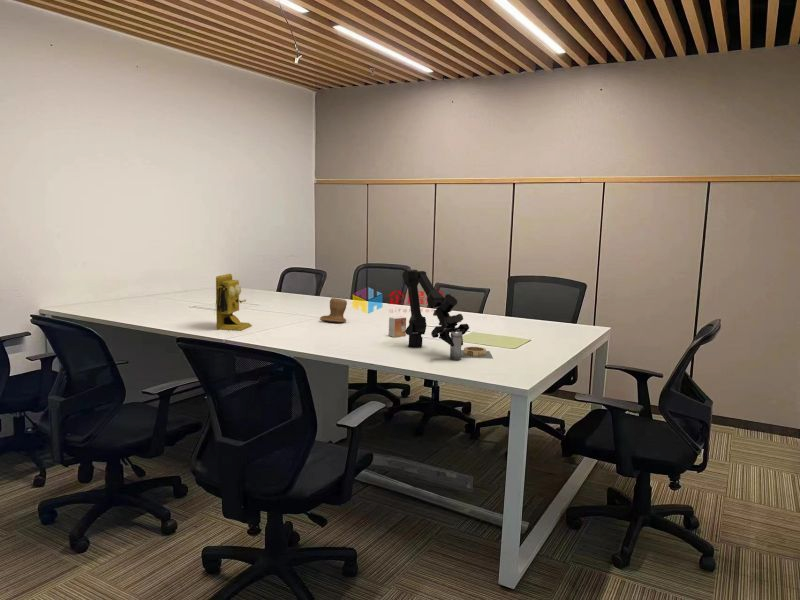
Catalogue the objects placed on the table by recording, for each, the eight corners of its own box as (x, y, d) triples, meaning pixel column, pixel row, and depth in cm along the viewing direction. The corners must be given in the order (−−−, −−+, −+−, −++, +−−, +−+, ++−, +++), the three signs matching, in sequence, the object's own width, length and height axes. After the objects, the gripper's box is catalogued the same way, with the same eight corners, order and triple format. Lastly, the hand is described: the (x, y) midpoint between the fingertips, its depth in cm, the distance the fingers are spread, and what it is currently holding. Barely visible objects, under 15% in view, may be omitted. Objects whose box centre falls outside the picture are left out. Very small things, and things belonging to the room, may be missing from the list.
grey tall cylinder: (449, 360, 273) (451, 332, 271) (449, 357, 278) (450, 330, 276) (461, 360, 273) (462, 332, 271) (460, 357, 278) (461, 330, 276)
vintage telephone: (234, 334, 322) (233, 279, 318) (209, 332, 324) (209, 277, 320) (256, 324, 353) (256, 273, 349) (234, 322, 355) (234, 272, 351)
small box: (394, 337, 324) (394, 318, 323) (388, 335, 329) (388, 317, 327) (406, 336, 329) (406, 317, 327) (400, 334, 333) (400, 316, 332)
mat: (459, 358, 279) (459, 357, 279) (457, 351, 295) (457, 349, 295) (493, 359, 279) (493, 358, 279) (489, 352, 295) (489, 351, 295)
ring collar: (464, 356, 282) (464, 351, 282) (463, 351, 292) (463, 346, 292) (486, 356, 282) (486, 351, 281) (484, 352, 292) (484, 347, 292)
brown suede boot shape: (350, 321, 370) (350, 297, 368) (341, 324, 359) (341, 299, 357) (328, 319, 376) (329, 295, 374) (319, 322, 365) (319, 298, 363)
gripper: (435, 309, 270) (449, 337, 263) (468, 306, 280) (482, 334, 273) (425, 323, 278) (438, 351, 271) (457, 320, 288) (470, 347, 280)
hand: (457, 345), depth 273 cm, fingers closed on grey tall cylinder, 5 cm apart
